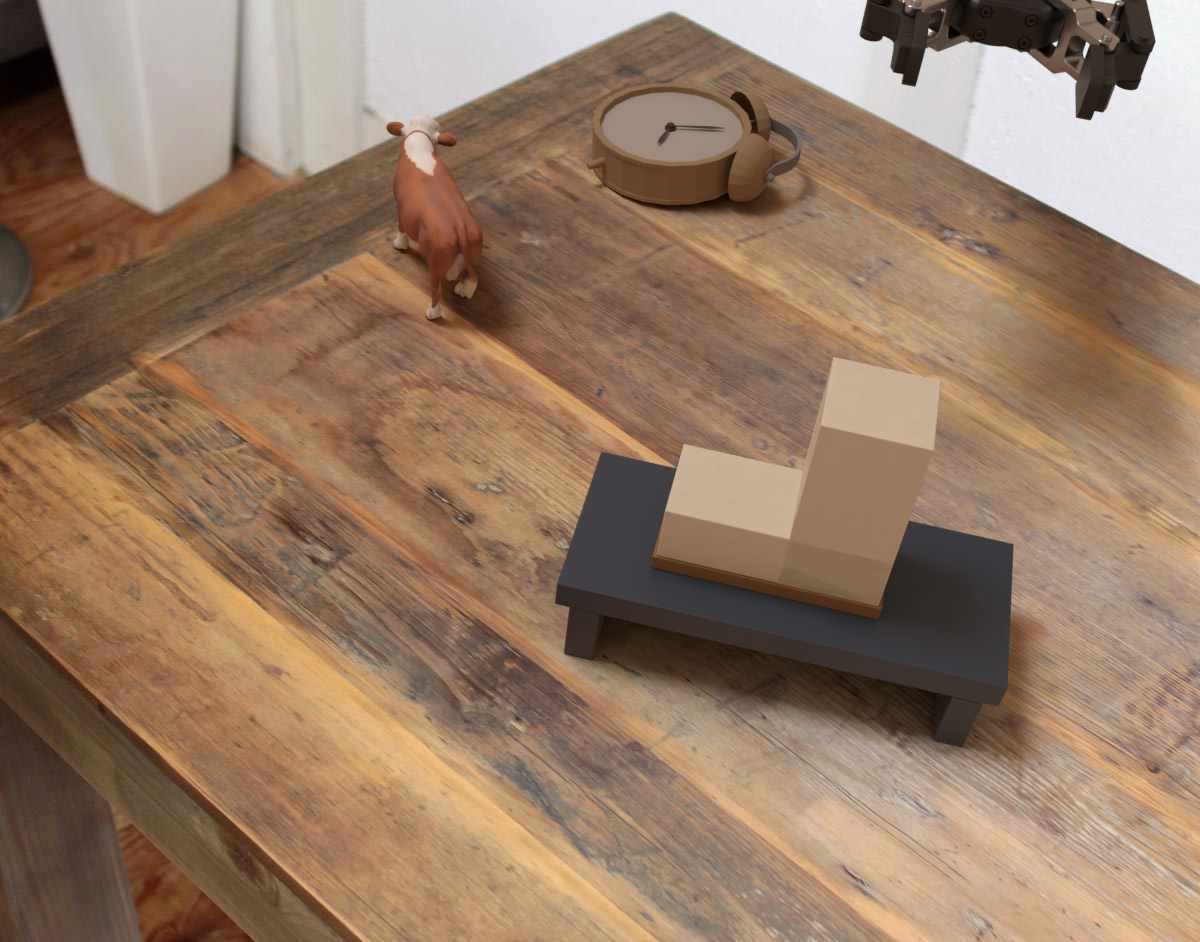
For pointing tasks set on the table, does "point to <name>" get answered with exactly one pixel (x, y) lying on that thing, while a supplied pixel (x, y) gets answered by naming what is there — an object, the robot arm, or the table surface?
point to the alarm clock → (686, 144)
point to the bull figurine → (434, 209)
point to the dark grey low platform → (796, 629)
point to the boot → (811, 498)
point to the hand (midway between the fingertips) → (1001, 85)
